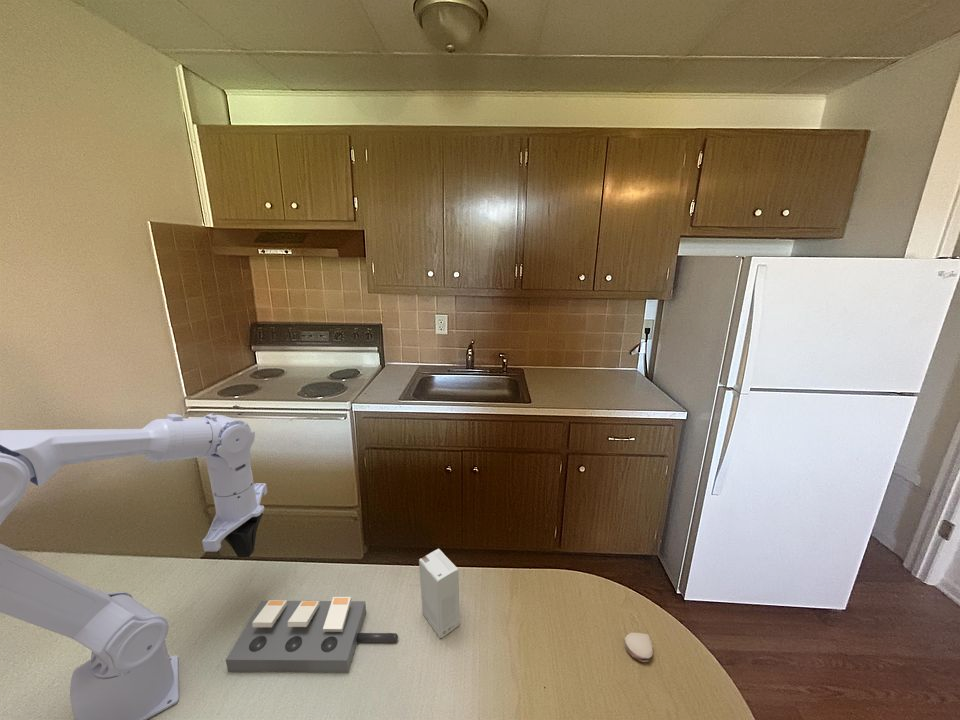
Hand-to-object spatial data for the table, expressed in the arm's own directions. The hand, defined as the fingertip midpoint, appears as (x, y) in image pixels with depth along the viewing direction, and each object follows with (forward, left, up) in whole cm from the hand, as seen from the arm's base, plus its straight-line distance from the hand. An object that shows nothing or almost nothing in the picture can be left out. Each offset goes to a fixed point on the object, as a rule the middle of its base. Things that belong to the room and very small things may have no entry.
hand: (245, 554), depth 67 cm
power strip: (+8, -15, -10) cm, 20 cm away
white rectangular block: (+2, -8, -7) cm, 11 cm away
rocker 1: (+6, -12, -7) cm, 15 cm away
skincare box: (+25, -23, -11) cm, 36 cm away
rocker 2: (+10, -15, -7) cm, 19 cm away
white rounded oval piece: (+48, -47, -11) cm, 68 cm away
